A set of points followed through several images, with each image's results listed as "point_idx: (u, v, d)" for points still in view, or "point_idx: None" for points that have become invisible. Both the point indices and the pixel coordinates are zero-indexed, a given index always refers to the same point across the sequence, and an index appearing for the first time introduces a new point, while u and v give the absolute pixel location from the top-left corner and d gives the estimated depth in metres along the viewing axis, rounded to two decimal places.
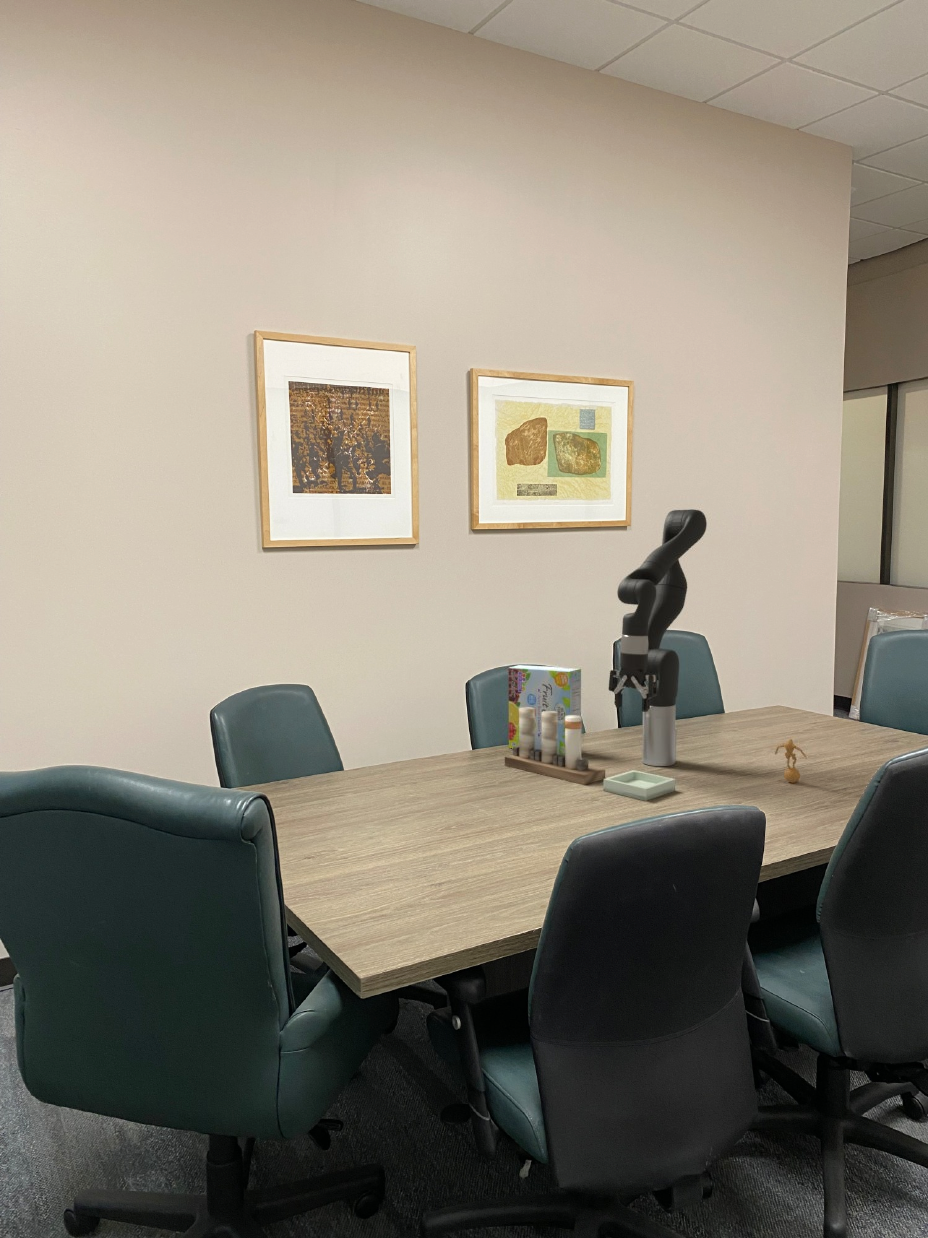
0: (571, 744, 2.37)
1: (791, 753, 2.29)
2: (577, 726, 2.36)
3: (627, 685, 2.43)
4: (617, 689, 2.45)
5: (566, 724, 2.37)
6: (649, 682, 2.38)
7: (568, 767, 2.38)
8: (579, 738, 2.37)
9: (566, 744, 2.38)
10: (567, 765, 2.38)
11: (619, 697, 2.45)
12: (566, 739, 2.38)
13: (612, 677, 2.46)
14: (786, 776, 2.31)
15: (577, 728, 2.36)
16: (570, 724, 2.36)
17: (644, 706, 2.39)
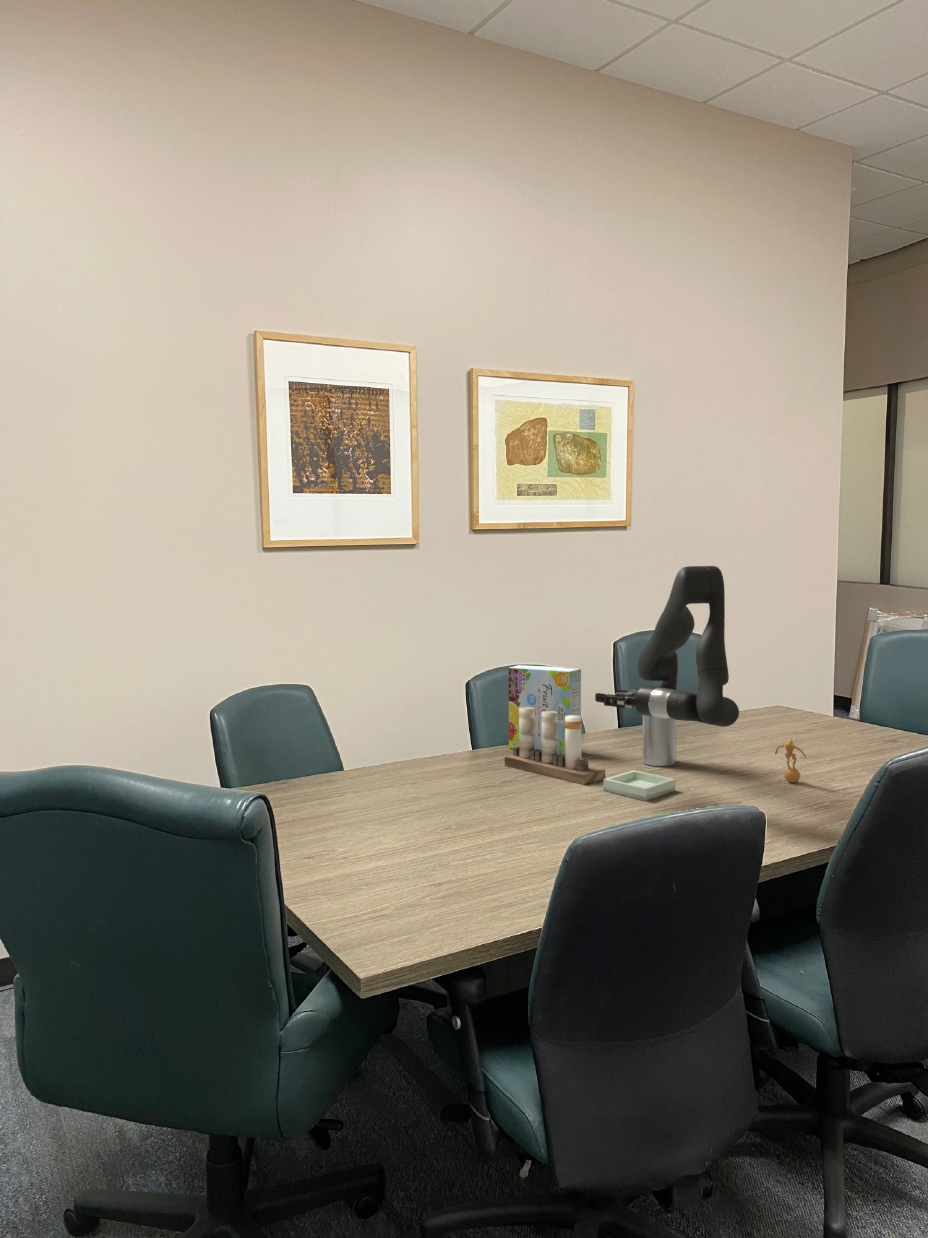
0: (571, 744, 2.37)
1: (791, 753, 2.29)
2: (577, 726, 2.36)
3: None
4: None
5: (566, 724, 2.37)
6: None
7: (568, 767, 2.38)
8: (579, 738, 2.37)
9: (566, 744, 2.38)
10: (567, 765, 2.38)
11: None
12: (566, 739, 2.38)
13: None
14: (786, 776, 2.31)
15: (577, 728, 2.36)
16: (570, 724, 2.36)
17: None
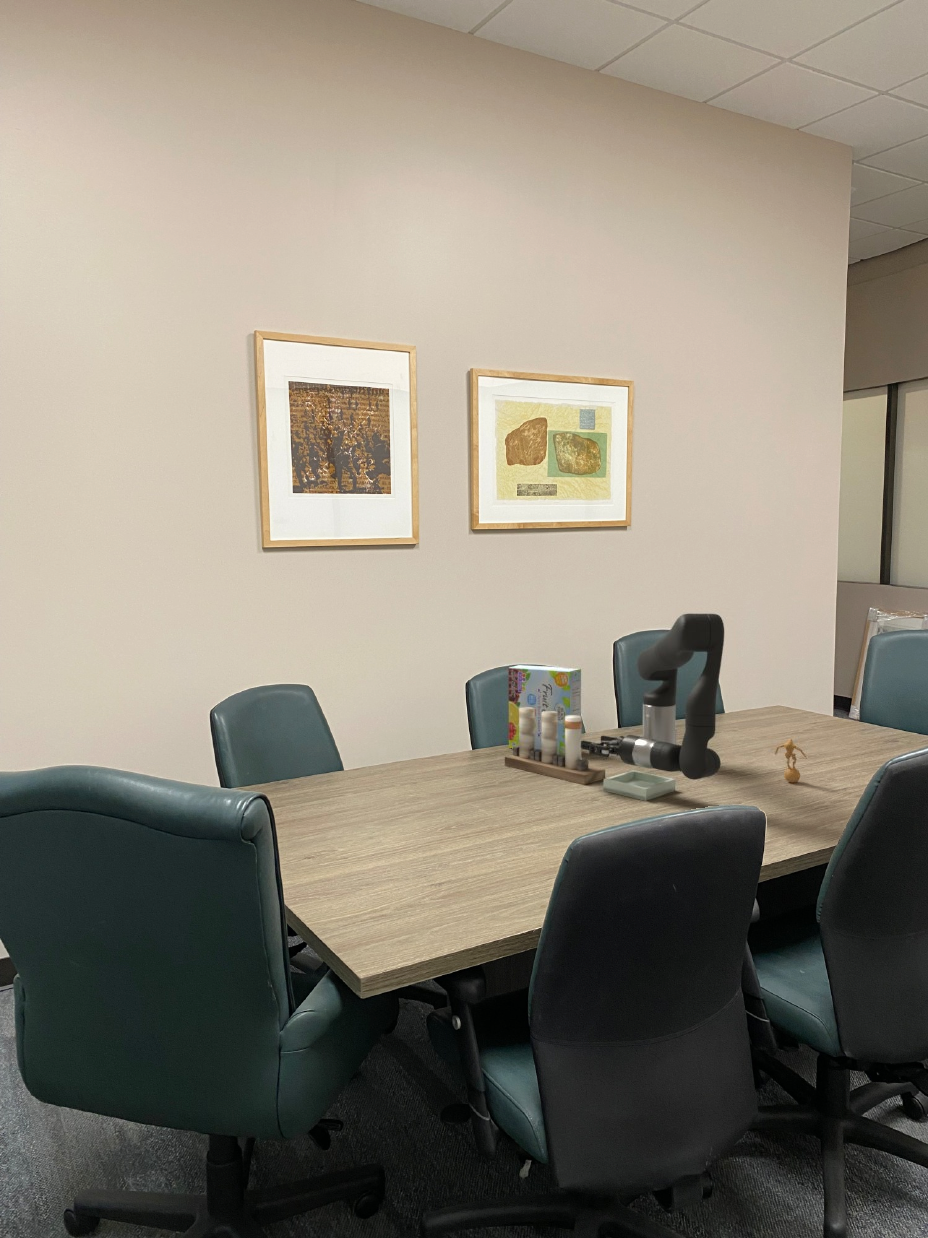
0: (571, 744, 2.37)
1: (791, 753, 2.29)
2: (577, 726, 2.36)
3: None
4: None
5: (566, 724, 2.37)
6: None
7: (568, 767, 2.38)
8: (579, 738, 2.37)
9: (566, 744, 2.38)
10: (567, 765, 2.38)
11: None
12: (566, 739, 2.38)
13: None
14: (786, 776, 2.31)
15: (577, 728, 2.36)
16: (570, 724, 2.36)
17: None
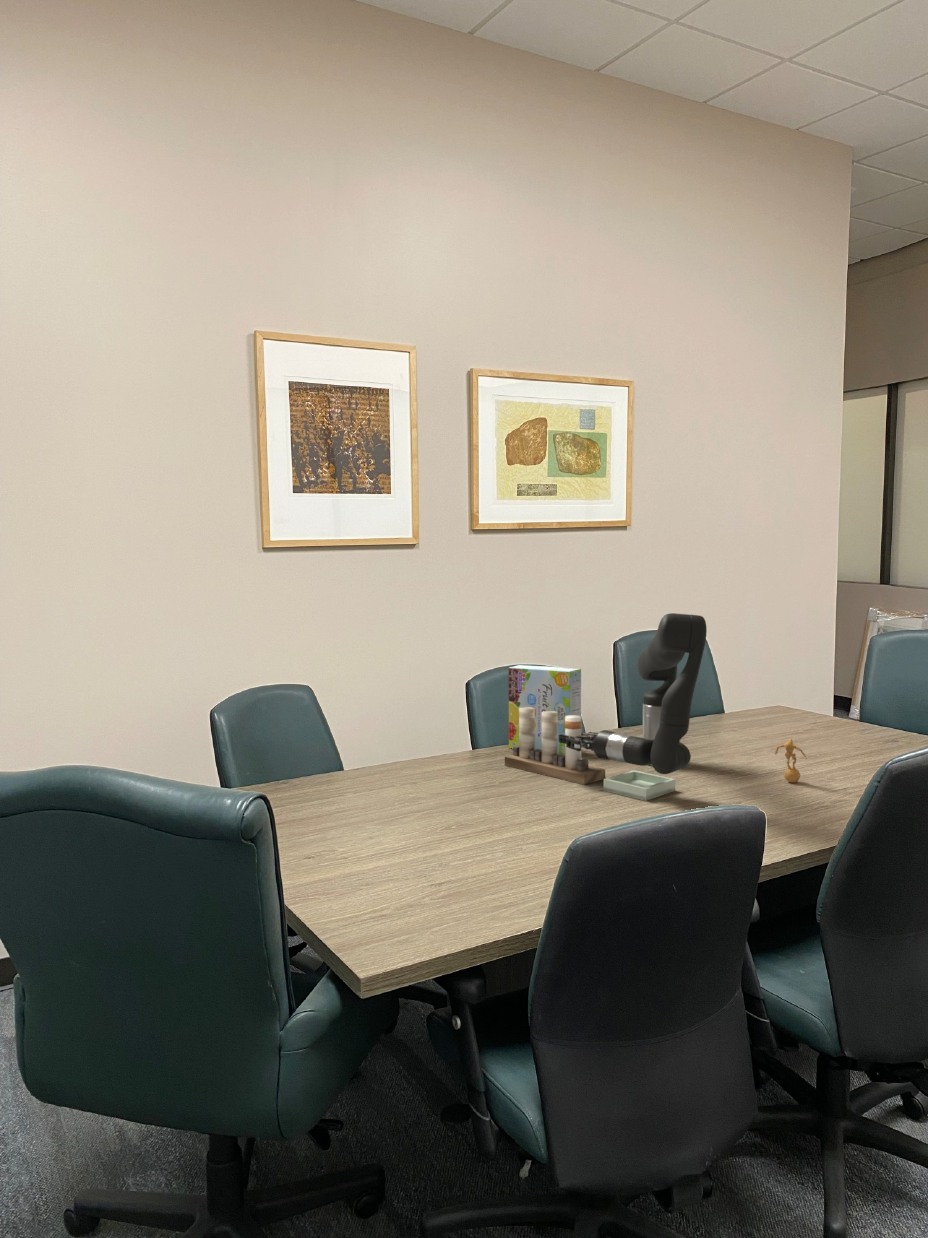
0: None
1: (791, 753, 2.29)
2: (577, 726, 2.36)
3: None
4: None
5: (566, 724, 2.37)
6: None
7: (568, 767, 2.38)
8: None
9: None
10: (567, 765, 2.38)
11: None
12: None
13: None
14: (786, 776, 2.31)
15: (577, 728, 2.36)
16: (570, 724, 2.36)
17: None
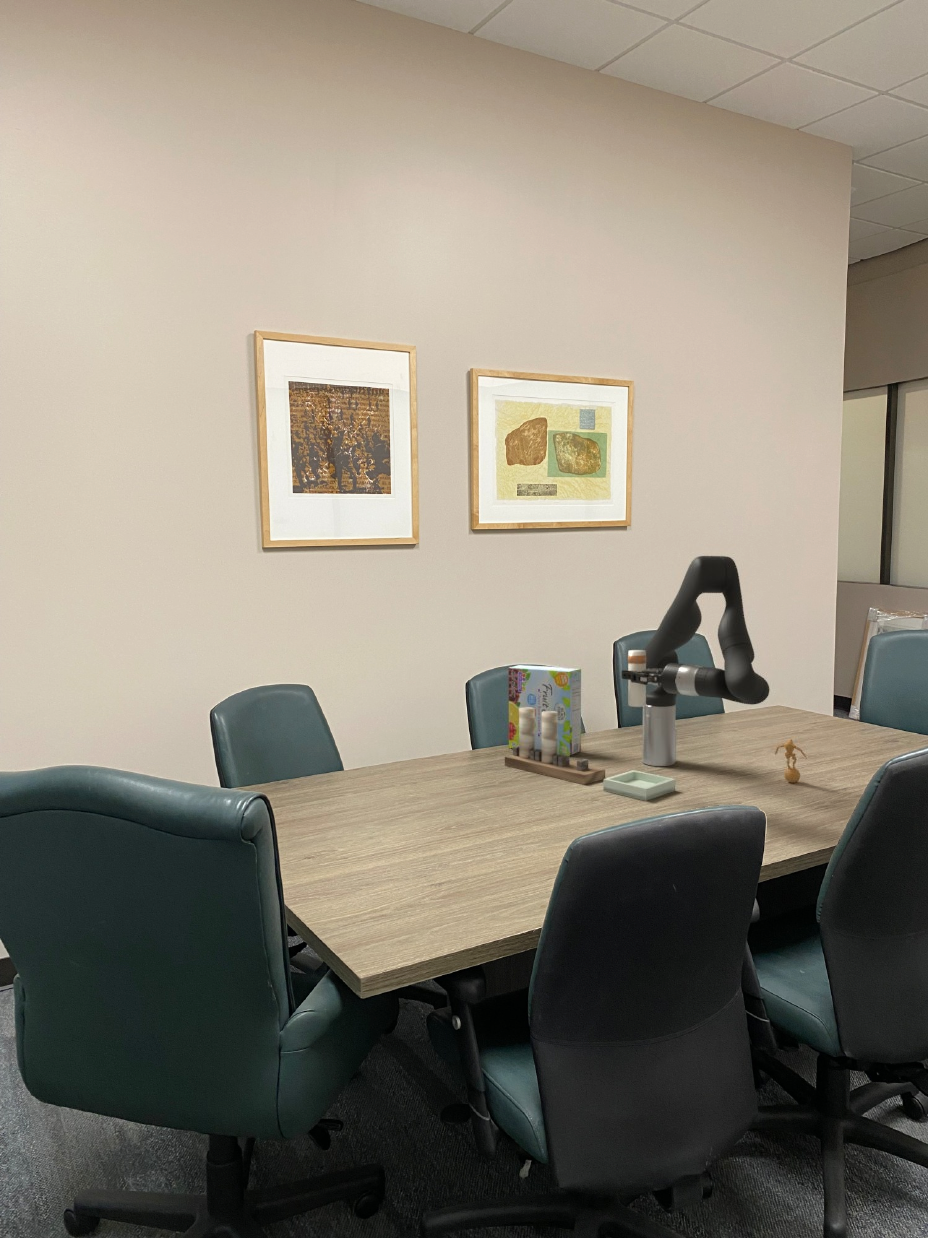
0: None
1: (791, 753, 2.29)
2: (642, 660, 2.21)
3: None
4: None
5: (630, 658, 2.22)
6: None
7: (632, 705, 2.22)
8: None
9: (630, 680, 2.22)
10: (630, 703, 2.22)
11: None
12: None
13: None
14: (786, 776, 2.31)
15: (642, 662, 2.21)
16: (634, 658, 2.21)
17: None
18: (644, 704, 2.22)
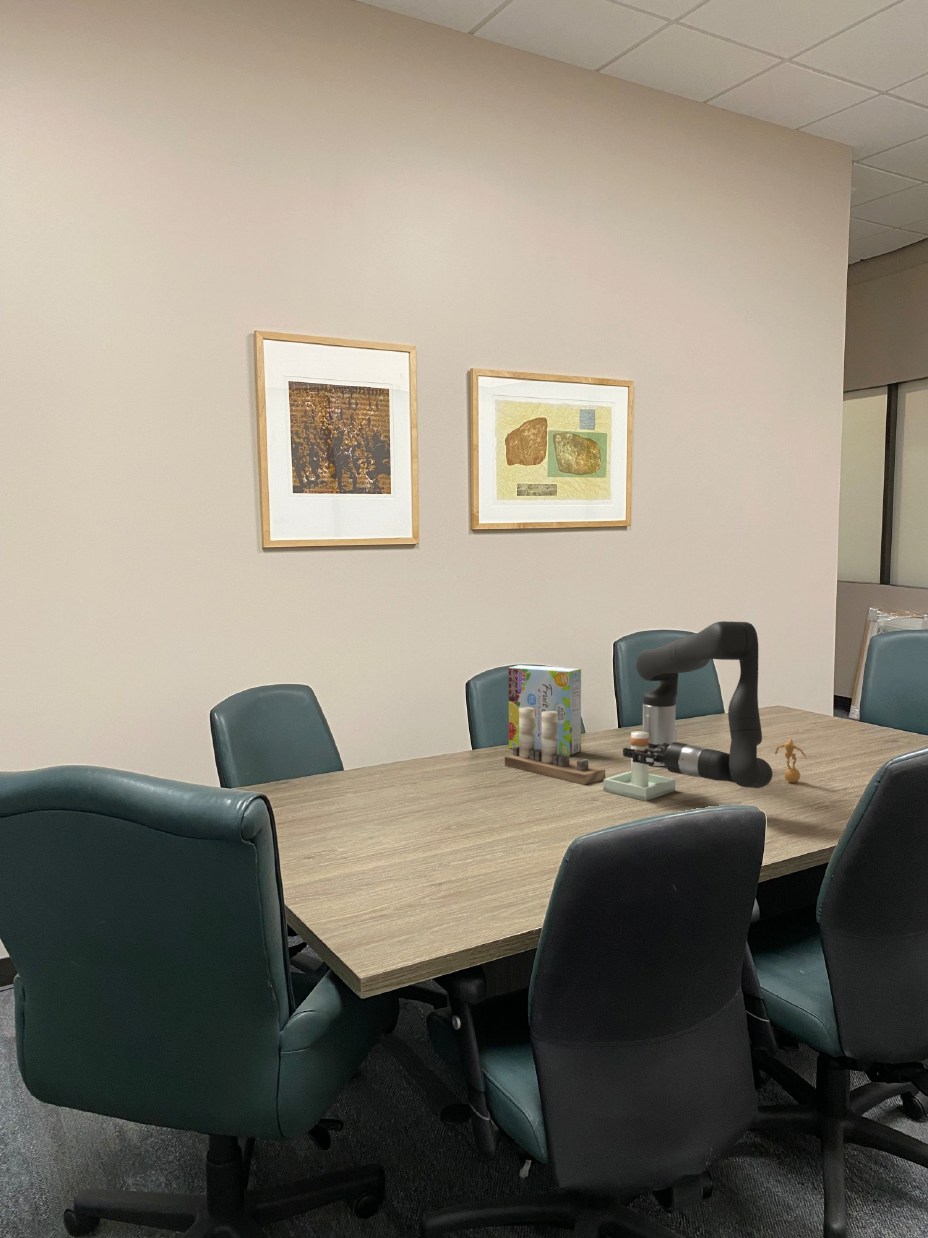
0: None
1: (791, 753, 2.29)
2: (644, 743, 2.22)
3: None
4: None
5: (632, 741, 2.23)
6: None
7: None
8: None
9: (632, 762, 2.23)
10: None
11: None
12: None
13: None
14: (786, 776, 2.31)
15: (644, 745, 2.22)
16: (637, 741, 2.22)
17: None
18: (647, 786, 2.23)
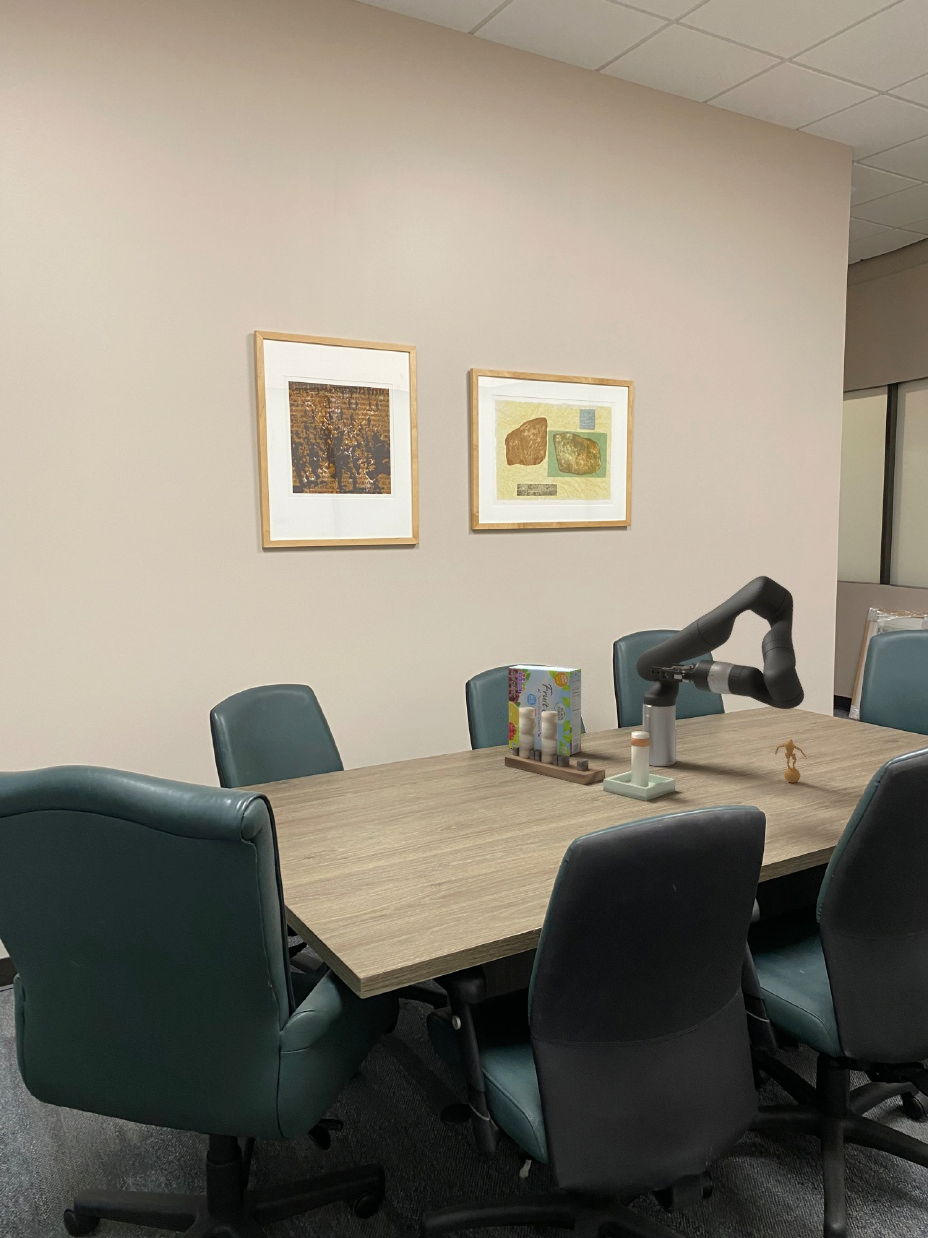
0: (638, 762, 2.22)
1: (791, 753, 2.29)
2: (645, 743, 2.22)
3: None
4: (668, 678, 2.12)
5: (633, 741, 2.23)
6: None
7: None
8: (647, 756, 2.22)
9: (633, 762, 2.23)
10: None
11: None
12: (633, 757, 2.23)
13: None
14: (786, 776, 2.31)
15: (645, 745, 2.22)
16: (638, 741, 2.22)
17: None
18: (647, 786, 2.23)
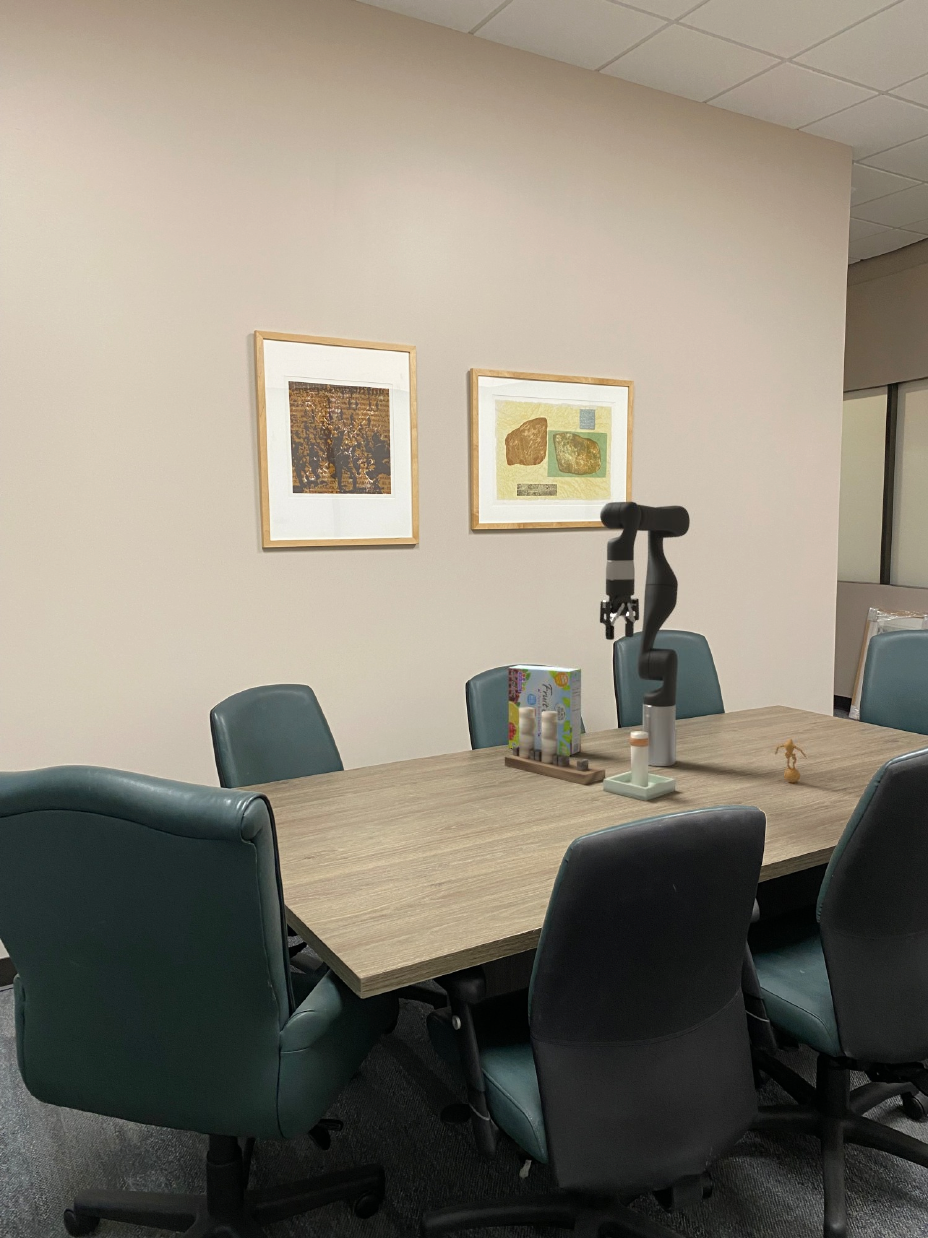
0: (637, 762, 2.22)
1: (791, 753, 2.29)
2: (644, 743, 2.22)
3: (620, 613, 2.32)
4: (613, 620, 2.30)
5: (632, 741, 2.23)
6: (636, 606, 2.36)
7: None
8: (646, 756, 2.22)
9: (632, 762, 2.23)
10: None
11: None
12: (632, 757, 2.23)
13: (609, 608, 2.28)
14: (786, 776, 2.31)
15: (644, 745, 2.22)
16: (637, 741, 2.22)
17: None
18: (647, 786, 2.23)
